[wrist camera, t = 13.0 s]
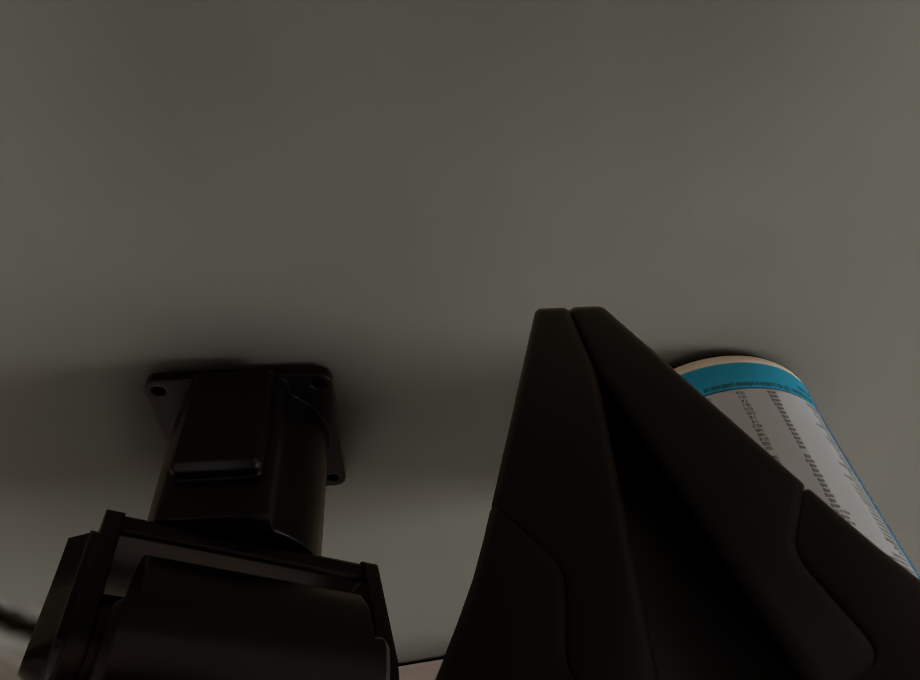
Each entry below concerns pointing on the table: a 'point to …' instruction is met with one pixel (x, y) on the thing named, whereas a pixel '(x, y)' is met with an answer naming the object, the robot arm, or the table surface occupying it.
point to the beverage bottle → (792, 436)
